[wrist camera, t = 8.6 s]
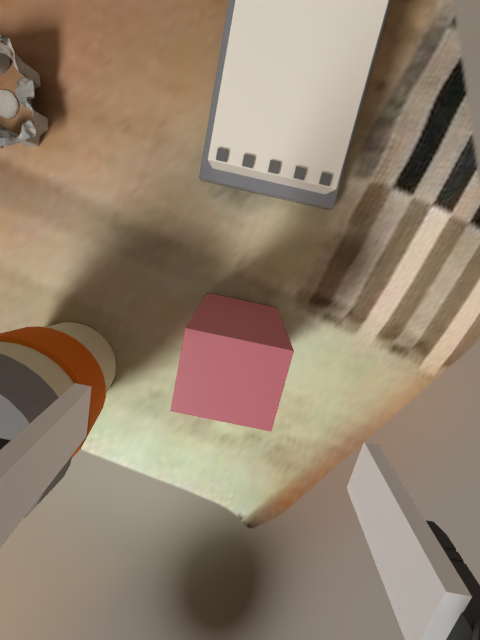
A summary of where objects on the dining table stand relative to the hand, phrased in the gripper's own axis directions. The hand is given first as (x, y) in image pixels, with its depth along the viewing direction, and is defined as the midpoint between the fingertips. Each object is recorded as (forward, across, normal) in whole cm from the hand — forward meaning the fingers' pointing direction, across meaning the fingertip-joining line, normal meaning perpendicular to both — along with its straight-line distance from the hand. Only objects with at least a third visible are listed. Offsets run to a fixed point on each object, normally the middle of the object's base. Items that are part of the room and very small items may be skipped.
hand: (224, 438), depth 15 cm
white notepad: (+18, 0, +21) cm, 28 cm away
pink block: (+18, 0, 0) cm, 18 cm away
